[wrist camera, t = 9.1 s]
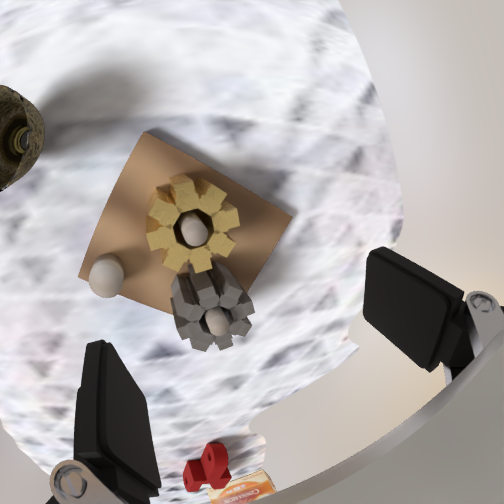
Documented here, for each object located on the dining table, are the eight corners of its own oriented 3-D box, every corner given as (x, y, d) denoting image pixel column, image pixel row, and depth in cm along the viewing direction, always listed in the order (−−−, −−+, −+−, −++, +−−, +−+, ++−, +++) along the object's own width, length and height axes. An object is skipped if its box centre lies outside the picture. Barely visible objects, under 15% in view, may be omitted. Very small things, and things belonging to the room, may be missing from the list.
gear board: (144, 132, 21) (142, 125, 15) (287, 214, 29) (327, 236, 22) (80, 271, 23) (63, 312, 17) (219, 324, 31) (240, 368, 24)
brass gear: (138, 186, 21) (135, 196, 17) (214, 166, 23) (230, 172, 19) (157, 257, 24) (161, 283, 20) (227, 237, 26) (245, 258, 22)
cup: (54, 85, 16) (19, 64, 9) (72, 160, 19) (40, 167, 12) (-10, 123, 14) (-57, 122, 7) (8, 194, 18) (-36, 216, 11)
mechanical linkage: (214, 473, 45) (221, 491, 41) (181, 475, 42) (187, 495, 37) (234, 436, 41) (244, 458, 36) (194, 439, 38) (202, 463, 33)
